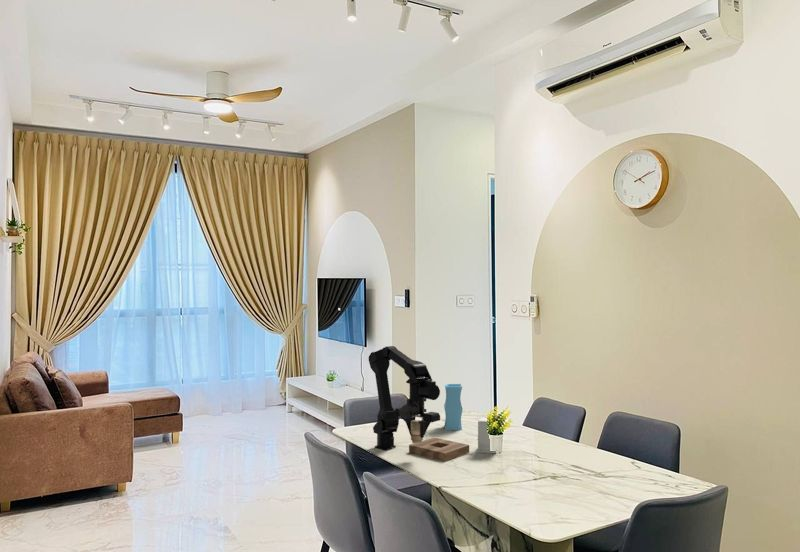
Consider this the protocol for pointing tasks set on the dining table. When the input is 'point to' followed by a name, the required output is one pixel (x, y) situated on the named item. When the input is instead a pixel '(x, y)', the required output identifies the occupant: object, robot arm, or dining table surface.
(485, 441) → the supplement box
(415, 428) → the beech peg
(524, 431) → the dining table surface
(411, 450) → the walnut board
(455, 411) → the vase
